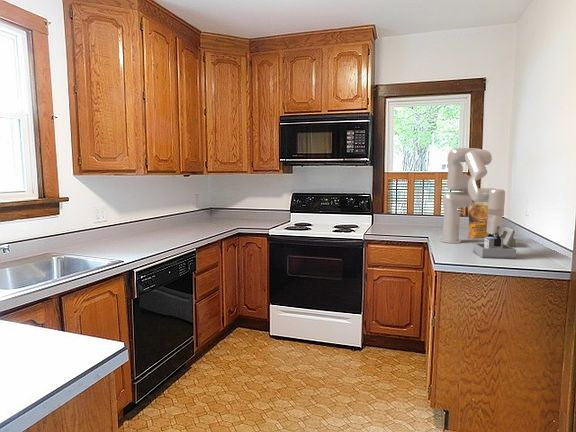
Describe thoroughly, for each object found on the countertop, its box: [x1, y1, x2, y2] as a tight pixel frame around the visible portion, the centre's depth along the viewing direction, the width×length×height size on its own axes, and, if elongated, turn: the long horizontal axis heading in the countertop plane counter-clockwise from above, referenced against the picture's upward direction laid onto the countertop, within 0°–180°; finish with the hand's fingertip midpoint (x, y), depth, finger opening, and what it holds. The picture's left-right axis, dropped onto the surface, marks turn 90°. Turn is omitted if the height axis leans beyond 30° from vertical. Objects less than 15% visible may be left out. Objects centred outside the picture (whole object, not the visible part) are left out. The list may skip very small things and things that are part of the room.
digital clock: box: [501, 226, 516, 248], centre depth 236 cm, size 16×9×11 cm, turn 152°
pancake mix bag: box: [467, 200, 488, 239], centre depth 264 cm, size 7×19×28 cm, turn 97°
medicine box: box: [483, 236, 503, 249], centre depth 206 cm, size 8×4×9 cm, turn 93°
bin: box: [472, 242, 517, 260], centre depth 206 cm, size 16×16×5 cm
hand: (493, 244), depth 206 cm, fingers open, 9 cm apart
